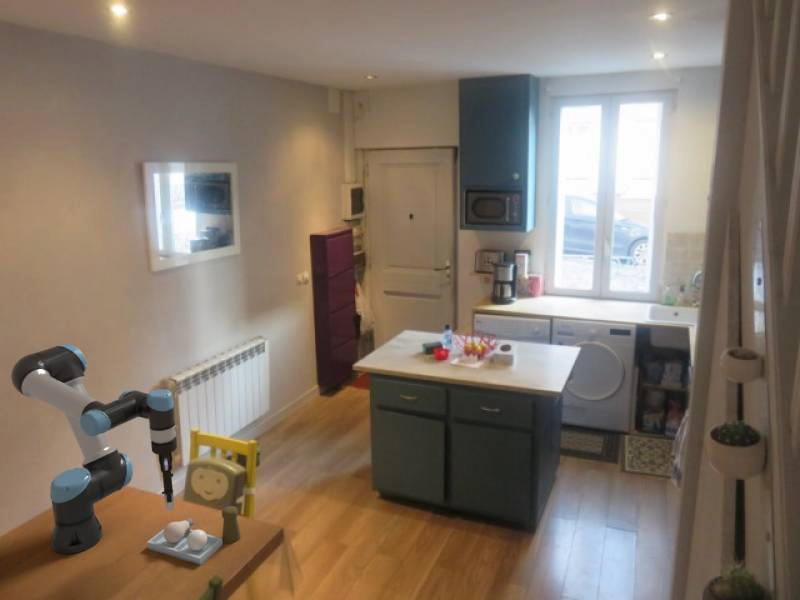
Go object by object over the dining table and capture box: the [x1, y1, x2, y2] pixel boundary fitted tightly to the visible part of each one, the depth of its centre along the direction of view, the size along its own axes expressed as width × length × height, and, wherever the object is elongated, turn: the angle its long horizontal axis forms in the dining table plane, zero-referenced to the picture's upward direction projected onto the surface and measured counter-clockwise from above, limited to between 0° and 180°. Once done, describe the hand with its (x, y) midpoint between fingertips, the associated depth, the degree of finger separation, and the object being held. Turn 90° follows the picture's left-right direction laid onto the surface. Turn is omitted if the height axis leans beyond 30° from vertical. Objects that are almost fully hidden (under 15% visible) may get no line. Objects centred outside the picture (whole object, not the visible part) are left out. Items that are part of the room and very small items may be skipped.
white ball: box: [187, 529, 207, 551], centre depth 200 cm, size 6×6×6 cm
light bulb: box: [163, 517, 195, 543], centre depth 205 cm, size 7×7×11 cm
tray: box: [146, 528, 224, 566], centre depth 203 cm, size 21×11×2 cm, turn 68°
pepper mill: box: [221, 505, 242, 544], centre depth 207 cm, size 6×6×11 cm
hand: (169, 503), depth 201 cm, fingers open, 7 cm apart
